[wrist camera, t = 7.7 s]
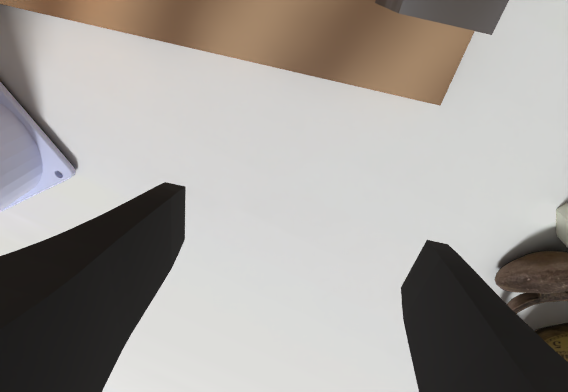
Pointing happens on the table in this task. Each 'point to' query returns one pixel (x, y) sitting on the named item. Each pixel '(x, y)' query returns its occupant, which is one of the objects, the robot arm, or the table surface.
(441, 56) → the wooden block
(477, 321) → the robot arm
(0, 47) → the table surface
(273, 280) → the table surface
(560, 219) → the valve
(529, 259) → the brown rounded piece
